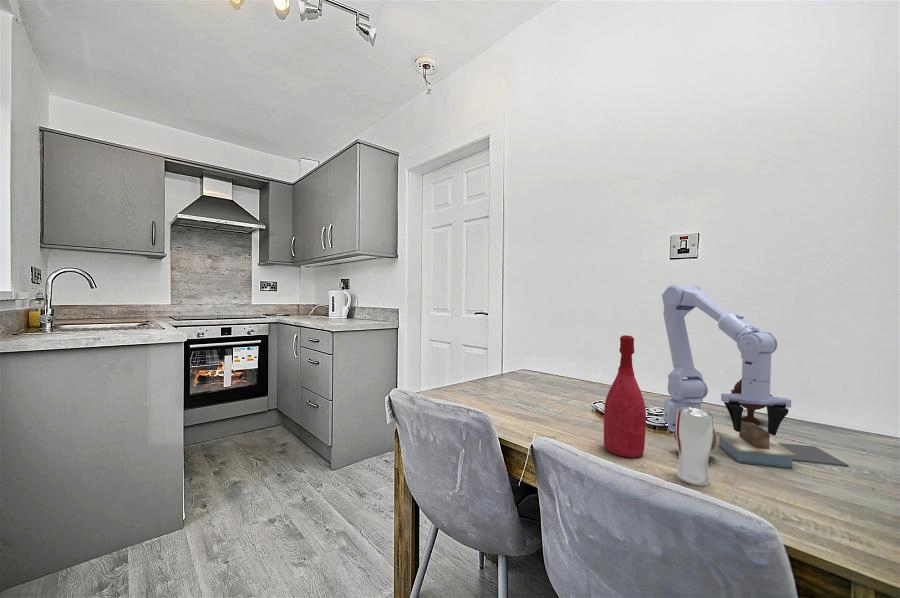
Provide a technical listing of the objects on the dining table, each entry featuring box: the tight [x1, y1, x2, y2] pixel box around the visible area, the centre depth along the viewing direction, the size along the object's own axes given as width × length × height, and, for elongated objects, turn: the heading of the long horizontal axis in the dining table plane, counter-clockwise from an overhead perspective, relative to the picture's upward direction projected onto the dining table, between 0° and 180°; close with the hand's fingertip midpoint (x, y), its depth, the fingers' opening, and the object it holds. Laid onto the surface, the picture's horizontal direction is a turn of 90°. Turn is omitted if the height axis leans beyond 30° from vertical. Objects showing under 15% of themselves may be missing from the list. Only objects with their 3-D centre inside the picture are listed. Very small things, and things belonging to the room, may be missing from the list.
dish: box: [718, 436, 793, 469], centre depth 98 cm, size 11×11×3 cm
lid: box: [716, 421, 796, 457], centre depth 98 cm, size 12×12×4 cm
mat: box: [777, 442, 850, 468], centre depth 101 cm, size 14×12×1 cm
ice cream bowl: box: [730, 378, 774, 425], centre depth 127 cm, size 11×11×15 cm
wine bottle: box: [603, 334, 647, 458], centre depth 99 cm, size 10×10×30 cm
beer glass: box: [676, 407, 714, 487], centre depth 85 cm, size 7×7×15 cm
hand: (754, 432), depth 98 cm, fingers open, 7 cm apart
